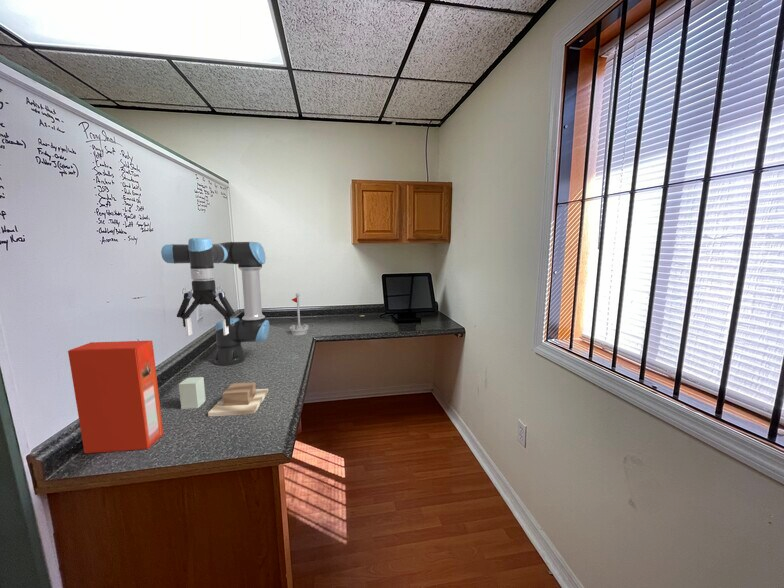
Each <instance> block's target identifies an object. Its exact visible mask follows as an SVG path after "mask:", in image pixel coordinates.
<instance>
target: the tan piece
mask: <svg viewBox="0 0 784 588" xmlns="http://www.w3.org/2000/svg"><path fill="white" fill-rule="evenodd" d="M256 385H257V384H256V382H255V381H253V382H234V383H231V384H230V385H229V386H228V387H227V388H226V389H225V390H224V391H223V393H222V397H221V399H220V400H218V401H217V403H216V404H215V405H213V407H212V408H211V409H210V410H209V411H208V412H207V417H224V416H242V415H245V416H246V415H255V414H256V412H257V410H258V409H259V408H260V406H261V404H262V403H263V401H264V400H265V399H266V396H267V395H268V393H269V388H257V386H256Z"/></svg>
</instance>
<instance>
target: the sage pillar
mask: <svg viewBox="0 0 784 588" xmlns="http://www.w3.org/2000/svg"><path fill="white" fill-rule="evenodd" d="M205 390H206V388H205V379H204V376H202V377H201V376H199V377H197V376H196V377H187V378H185V379H183V381H181V382H179V384H178V391H179V399H180V408H181V410H188V409H199V407H201V406H202V405H203V404H204V403H205V402H206V391H205Z"/></svg>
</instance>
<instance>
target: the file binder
mask: <svg viewBox="0 0 784 588" xmlns="http://www.w3.org/2000/svg"><path fill="white" fill-rule="evenodd" d="M153 343H154V342H153V340H129V341H128V340H125V341H123V340H122V341H98V342H94V341H93V342H89V343H86V344H83V345H80V346H78V347H74V348H71V349H69V350H67V353H68V360H69V366H70V371H71V372H70V373H71V380H72V383H73V389H74V397H75V403H76V409H77V416H78V421H79V428H80V434H81V440H82V445H83V451H84V454H96V453H97V454H99V453H110V452H111V453H112V452H126V451H138V450H139V451H140V450H142V451H143V450H149V449H150V448H151V447H152V446H153V445H154V444H155V443H156V442H157V441H158V440H159V439H160V438H161V437H163V435H164V427H163V420H162V411H161V410H162V409H161V401H160V393H159V386H158V377H157V370H156V369H157V368H156V361H155V352H154V344H153Z"/></svg>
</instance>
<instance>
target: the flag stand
mask: <svg viewBox="0 0 784 588" xmlns="http://www.w3.org/2000/svg"><path fill="white" fill-rule="evenodd" d="M300 296H301V294H300V293H298V292H296V293H295V297H294V298H292V299H291V301H292V302H294V303H297V304H296V309H297V311H296V313H297V325H295V324H291V326H289V330H290V331H291V335H293V336H303V335H305V334H308V330H309V324H305V323H304V324H303V325H302V323H301V314H300V313H301V312H300ZM305 332H306V333H305ZM294 333H295V334H294Z"/></svg>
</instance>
